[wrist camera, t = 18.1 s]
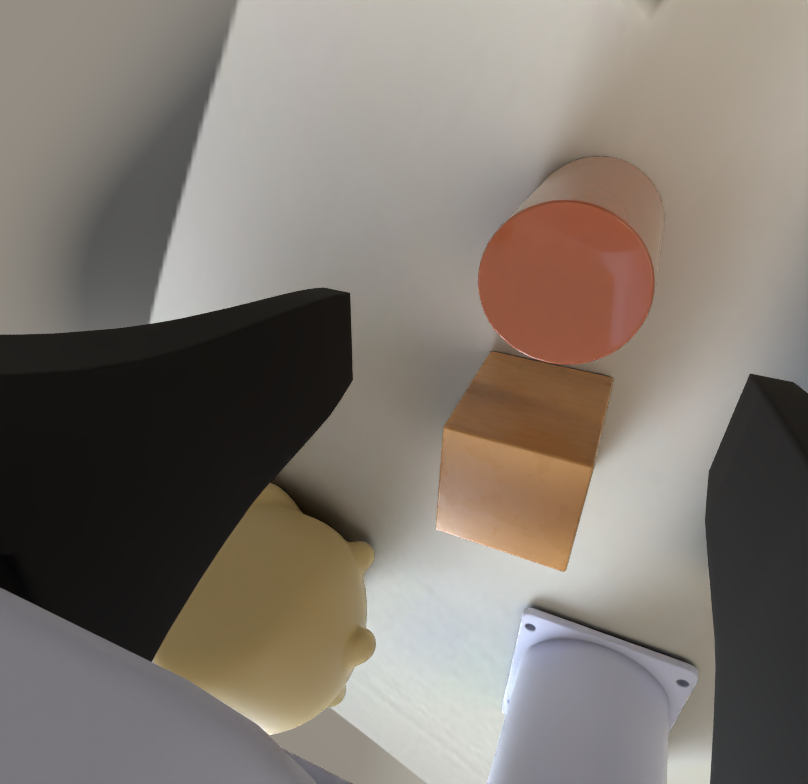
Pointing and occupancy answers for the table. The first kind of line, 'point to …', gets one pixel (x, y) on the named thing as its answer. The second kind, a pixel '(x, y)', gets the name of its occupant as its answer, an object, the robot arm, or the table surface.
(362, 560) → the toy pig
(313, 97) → the table surface
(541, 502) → the block
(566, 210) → the canister
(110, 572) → the robot arm
